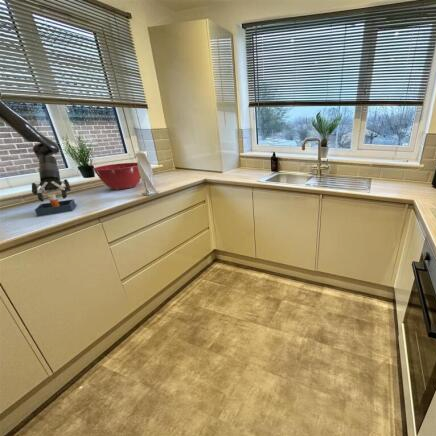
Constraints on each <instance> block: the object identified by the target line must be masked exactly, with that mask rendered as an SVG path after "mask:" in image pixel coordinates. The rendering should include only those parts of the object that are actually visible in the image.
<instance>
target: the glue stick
mask: <svg viewBox="0 0 436 436" xmlns="http://www.w3.org/2000/svg"><path fill="white" fill-rule="evenodd" d="M46 196H47V198H48V201H49V203H51V205H52V207H55V206H60V205H59V203H58V201H59V200H58V198H57V195H56V193H52V194H47V195H46Z"/></svg>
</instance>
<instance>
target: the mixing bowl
mask: <svg viewBox="0 0 436 436" xmlns="http://www.w3.org/2000/svg"><path fill="white" fill-rule="evenodd" d="M92 171H94V173H95V174H96V176H97V177H98V178H99V179H100V180H101V181H102V182H103V184H104V185H106V186H107V187H108V188H110V189H113V190H116V191H117V190H118V191H119V190H120V191H121V190H128V189H131V188H135V187H137V185H138V184H139V183H140V181H141V176H140V173H139V169H138V162H124V163H123V162H121V163H112V164H106V165H105V164H104V165H100V166H96V167H93V168H92Z"/></svg>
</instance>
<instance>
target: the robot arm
mask: <svg viewBox="0 0 436 436" xmlns="http://www.w3.org/2000/svg"><path fill="white" fill-rule="evenodd" d="M1 98H2V90H1V89H0V119H1V120H2V122H4V123H5V124H6V125H8V127H10V128H11V129H12V130H14V132H16V134H18V135H19V136H20V137H21V138H22V139H24V141H27V142H28V143H35V144H34V145H33V146H32V152H33V153H34V155H35V157H36V159H37V161H38V173H39V183H36V182H31V193H32V194H33V195H34V196H37V199H38V200H39V201H41V202H44V201H45V200H44V194H46V193H47V192H49V191H57V190H59V191H60V192H61V197H62V198H63V199H66V198H67V196H68V195H67V192H70V191H71V186H70V182H69V181H68V179H65V178H64V180H61V175H60V170H59V166H58V161H57V157H55V156H54V155H56V154H58V153H59V152H60V147H59V145H58V144H57V143H56V142H55V141H53V140H52V139H50V138H48V137H47V136H46V135H43V134H42V133H40V132H39V131H38V130H37V129H36V128H35V127H34V126H33V125H32V124H30V122H29V121H27V120H26V119H25V118H23V117H22V116H21V115H19V114H18V113H16V111H14V110H12V109H11V108H10V107H9V106H8V105H7V104H6V103H4V102H3V101H2V100H1ZM62 185H64V186H65V187H63V186H62Z"/></svg>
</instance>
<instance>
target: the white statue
mask: <svg viewBox="0 0 436 436" xmlns="http://www.w3.org/2000/svg"><path fill="white" fill-rule="evenodd" d="M136 151H137V152H136ZM133 153H134V156H135V157H136V160H137V163H138V169H139V173H140V176H141V177H140V180H141V181H142V183H143V185H144V193H142V196H146V197H151V196H154V195H155V196H156V195H158V194H160V193H159V192H158V191H157V189H156V187H155V185H154V184H155V183H154V181H155V180H154V171H153V168H152V165H151V163H150V161H149V158H148V151H147V150H144V151H143V150H139V149H138V148H135V149H134V151H133Z"/></svg>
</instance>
